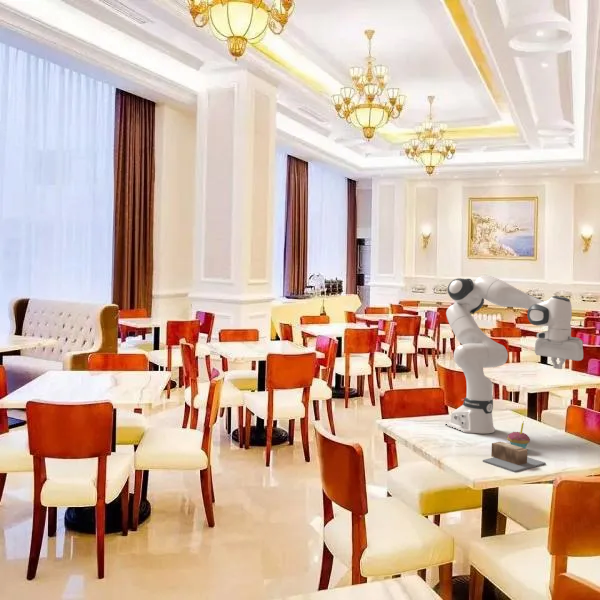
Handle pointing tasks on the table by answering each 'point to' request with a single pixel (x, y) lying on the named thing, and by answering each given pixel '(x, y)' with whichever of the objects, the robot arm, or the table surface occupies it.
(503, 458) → the walnut block
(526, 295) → the robot arm
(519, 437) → the cupcake
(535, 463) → the mat
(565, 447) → the table surface
